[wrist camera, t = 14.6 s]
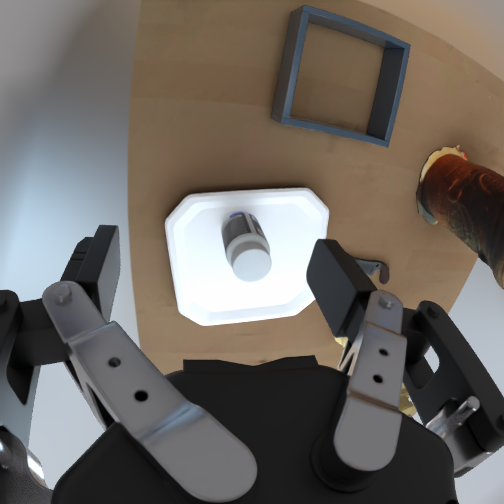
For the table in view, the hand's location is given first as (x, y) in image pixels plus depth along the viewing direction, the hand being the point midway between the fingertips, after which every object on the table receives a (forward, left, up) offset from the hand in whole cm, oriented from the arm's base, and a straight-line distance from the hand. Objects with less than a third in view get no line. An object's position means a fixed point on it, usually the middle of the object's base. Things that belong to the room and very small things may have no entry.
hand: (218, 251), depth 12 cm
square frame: (+10, +15, -26) cm, 31 cm away
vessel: (+36, +15, -26) cm, 46 cm away
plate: (+14, -11, -26) cm, 31 cm away
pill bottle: (+9, -7, -24) cm, 26 cm away
